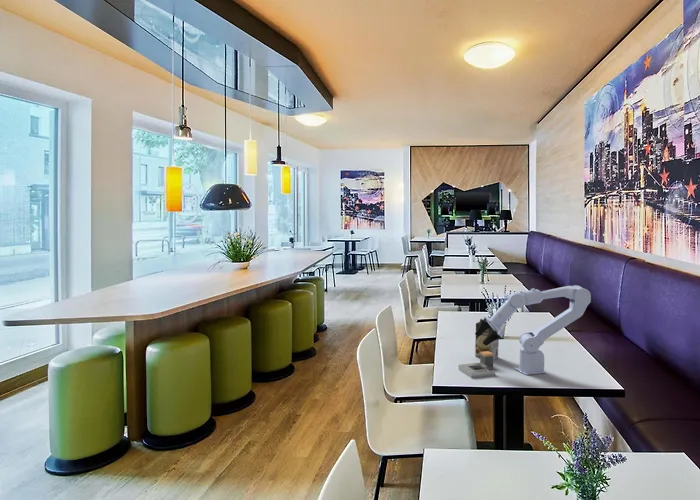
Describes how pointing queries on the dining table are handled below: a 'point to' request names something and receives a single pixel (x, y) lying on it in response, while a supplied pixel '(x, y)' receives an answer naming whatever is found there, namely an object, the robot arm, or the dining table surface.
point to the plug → (486, 358)
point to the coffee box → (481, 347)
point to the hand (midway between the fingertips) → (480, 339)
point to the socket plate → (476, 370)
